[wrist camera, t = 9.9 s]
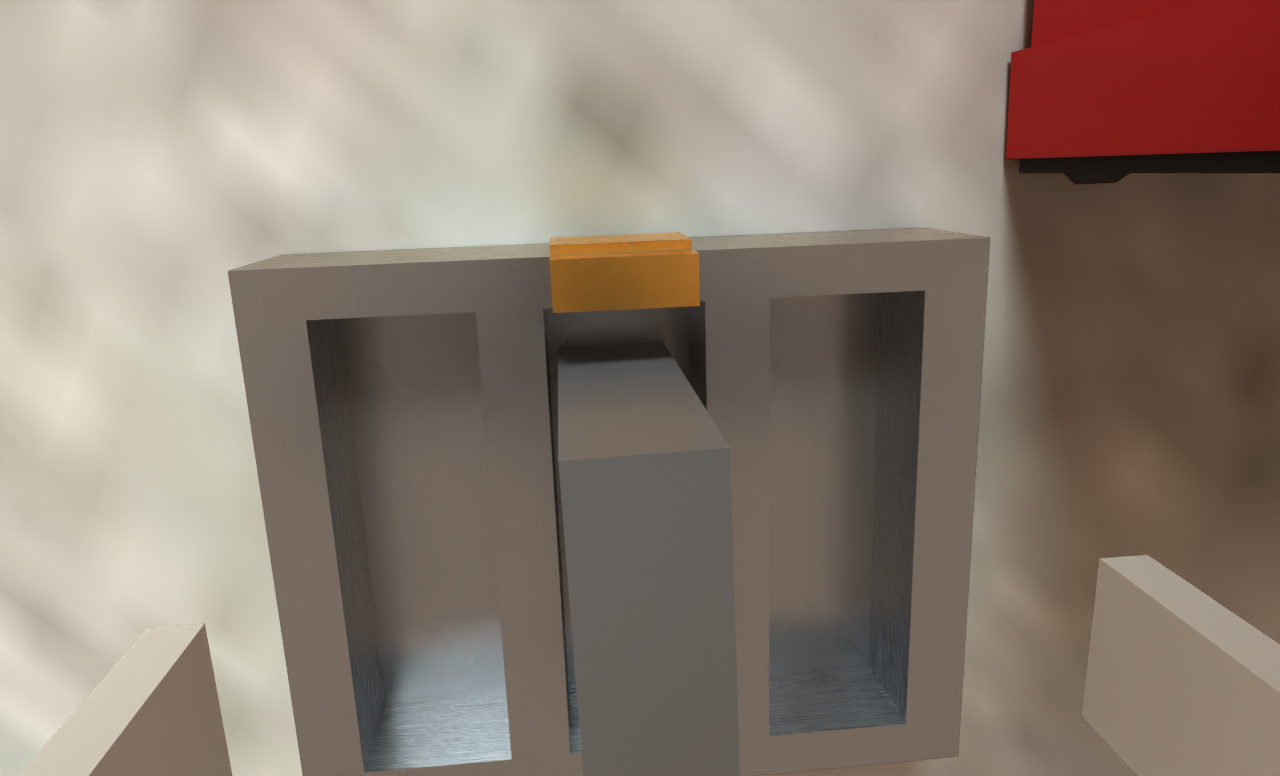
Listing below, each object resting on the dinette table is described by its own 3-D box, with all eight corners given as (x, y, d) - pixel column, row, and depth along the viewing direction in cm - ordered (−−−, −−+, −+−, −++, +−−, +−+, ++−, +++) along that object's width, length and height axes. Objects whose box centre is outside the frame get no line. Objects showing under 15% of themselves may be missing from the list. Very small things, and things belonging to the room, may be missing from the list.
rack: (280, 245, 19) (213, 262, 16) (924, 219, 21) (1006, 229, 17) (344, 725, 22) (301, 837, 19) (904, 677, 24) (970, 773, 20)
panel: (557, 348, 20) (557, 461, 12) (662, 341, 20) (730, 448, 12) (582, 663, 22) (596, 935, 14) (677, 654, 22) (743, 916, 14)
